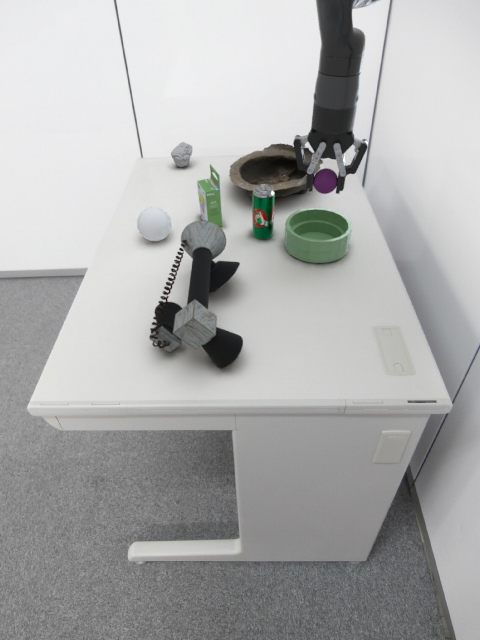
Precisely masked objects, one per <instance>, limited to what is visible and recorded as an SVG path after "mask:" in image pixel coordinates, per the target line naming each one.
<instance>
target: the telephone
mask: <svg viewBox="0 0 480 640" xmlns="http://www.w3.org/2000/svg"><path fill="white" fill-rule="evenodd" d="M226 245H227V236H226V233H225V232H224V230H223V229H222V227H221V226H220V227H219V226H218V225H217V224H215V223H213V222H210V221H206V220H203V219H201V220H200V219H199V220H195V221H192V222H190V223H188V224H187V225H186V226H185V227H184V228H183V230H182V232H181V235H180V247H179V248H178V250H179V251H177V252H176V253H177V255H175V259H174V260H173V262H174V263H173V264H172V265H171V266H172V268H170V273H168V275H169V276H171V277H167V280H168V281H166V282H165V285H166V286H163V289H164V290H163V291H162V294H163V295H161V296H159V297H160V299H161V300H158V302H157V303H158V304H157V305H156V306H155V308H154V316H153V317H152V319H153V320H154V321H152V322H151V325H152V326H155V327H150V329H149V330H150V334H149V340H150V341H151V342H152V343H151V344H152V346H153V347H155V348H158V349H160V350H162V349H163V350H165V351H166V352H168V353H169V354H170V353H171V352H173V351H174V350H176V349H177V348H178V347H180V346H181V345H182V341H183V342H184V343H186V344H187V345H189V347H191V348H193V349H194V350H197V349H198V348H199V347H201V348H202V349H203V350H204V352H205V353H206V355H207V356H208V358H209V359H210V360H211V361H212V363H213V364H214V365H215V367H216V368H218V369H225V368H227V367H229V366H230V365H232V364H233V363H234V362H235V361H236V360H237V358H238V357H239V355H240V353H241V352H242V350H243V346H244V340H243V337H242V336H241V335H240V334H237V333H235V332H232V331H229V330H226V329H223V328H221V327H218V326H217V319H218V318H217V315H216V314H215V313H214V312H212V311H211V310H210V309H209V300H210V299H209V298H210V294H213V293H214V292H216V291H218V290H219V289H220V288H222V287H223V286H225V284H227V283H228V281H230V279H232V277H233V276H234V275H235V274H236V273H237V271H238V270H239V267H240V265H241V262H239V261H230V260H218V261H214V260H215V259H216V258H218V257H219V256H220V255H221V254H222V253H223V251H225V249H226V247H227V246H226ZM184 253H186V254H187V255H188V256H189V257H190V258H191V259H192V262H191V269H190V278H189V287H188V293H187V302H186V305H185V306H183V307H182V306H181V305H180V304H179V303H176V302H174V301H169V300H168V299H169V297H170V296H169V295H170V294H171V292H172V291H171V290H172V289H173V285H174V284H175V281H176V278H177V277H176V276H177V275H178V272H179V269H180V268H179V267H180V266H181V263H182V260H183V258H184ZM172 277H173V278H172ZM167 291H168V292H167Z"/></svg>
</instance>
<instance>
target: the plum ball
mask: <svg viewBox="0 0 480 640" xmlns="http://www.w3.org/2000/svg"><path fill="white" fill-rule="evenodd" d="M337 182H338V175H337V173H336V171H334V170H333V169H332V168H327V167H325V168H320V169H319V170H318V172H317V173H316V174H315V175H314V181H313V189H315V190H316V191H317V192H318V193H320V194H323V195H327V194H331V193H332V192H334V190H336V187H337Z"/></svg>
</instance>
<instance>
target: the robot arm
mask: <svg viewBox="0 0 480 640" xmlns="http://www.w3.org/2000/svg"><path fill="white" fill-rule="evenodd" d="M380 1H381V0H315V5H316V14H317V22H318V30H319V36H320V48H319V49H320V50H319V59H318V68H317V69H318V71H317V76H316V80H315V86H314V93H313V104H312V105H313V106H312V115H311V126H310V130H309V132H308V134H305V135H302V136H301V135H300V134H297V135H296V134H295V136H294V137H293V143H292V144H293V145H292V146H293V147H294V150H295V155H296V160H297V165H298V169H299V170H301V171H302V170H303V171H305V172H306V173H307V180H306V188H308V192H311V193H313V189H314V185H313V181H314V176H315V175H314V174H315V170H314V169H315V167H316V165H317V164H318V162H319V160H320V159H321V160H325V159H330V160H333V161H334V160H335V161H336V164H337V168H338V175H337V177H338V182H337V186H336V188H335V194H337V195H340V192H343V191H344V189H345V183H346V177H347V176H348V175H355V174H356V173H357V171H358V169H359V167H360V165H361V163H362V161H363V158H364V156H365V154H366V152H367V150H368V146H369V145H368V139H366V138H363V139H360V138H356V137H355V134H354V128H355V121H356V115H357V109H358V104H359V100H360V90H361V77H362V76H361V75H362V68H363V63H364V55H365V49H366V35H365V32H364V31H363V30H361V29H360V28H357V27H354V23H353V22H354V21H353V10H356V9H362V8H365V7H368V6H372V5H374V4H376V3H378V2H380ZM307 143H308V144H309V146H310V147H311V149H312V151H313V152H312V153H313V155H312V158H311V160H310V162H309V163H308V162H306V161H305V157H304V152H303V149H304V148H306V145H307ZM352 146H354V149H353V150H354V151H353V152H354V155H353V158H352V160H351V162H350V164H346V158H345V157H346V156H345V153H346V152H347V151H348V150H349V149H350V148H351V147H352Z"/></svg>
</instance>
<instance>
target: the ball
mask: <svg viewBox="0 0 480 640" xmlns="http://www.w3.org/2000/svg"><path fill="white" fill-rule="evenodd" d="M136 227H137V230H138V233H139V234H140V235H141V237H143V238H144V239H146V240H147V241H151V242H159V241H160V242H161V241H162V240H164V239H166V238H167V237H168V235H169V234H170V232H171V229H172V220H171V216H170V215H169V214H168V212H167V211H166V210H164V209H163V208H161V207H159V206H148V207H146V208H145V209H143V210H142V211H140V212H139V215H138V217H137V219H136Z"/></svg>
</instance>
